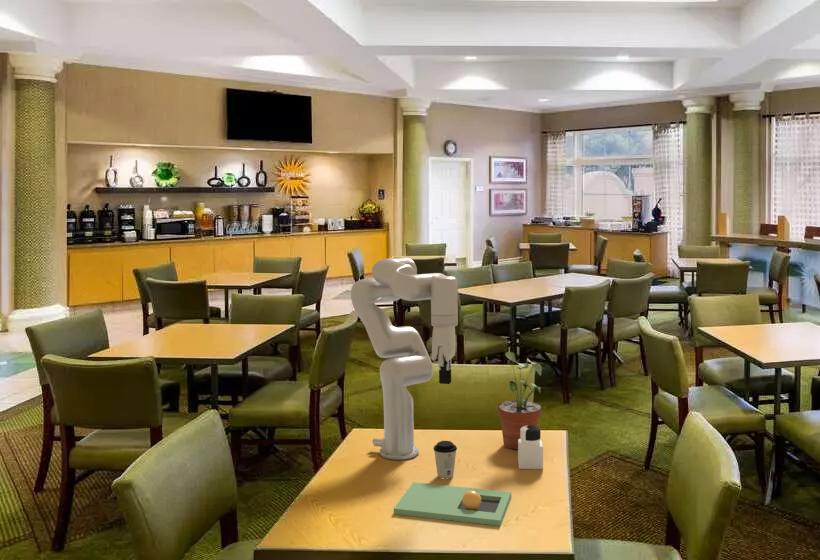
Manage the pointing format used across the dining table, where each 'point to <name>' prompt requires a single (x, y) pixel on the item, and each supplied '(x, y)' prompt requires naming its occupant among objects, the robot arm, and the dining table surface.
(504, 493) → the mat
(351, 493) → the dining table surface
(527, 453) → the medicine bottle
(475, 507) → the orange ball
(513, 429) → the potted plant
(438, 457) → the coffee cup
